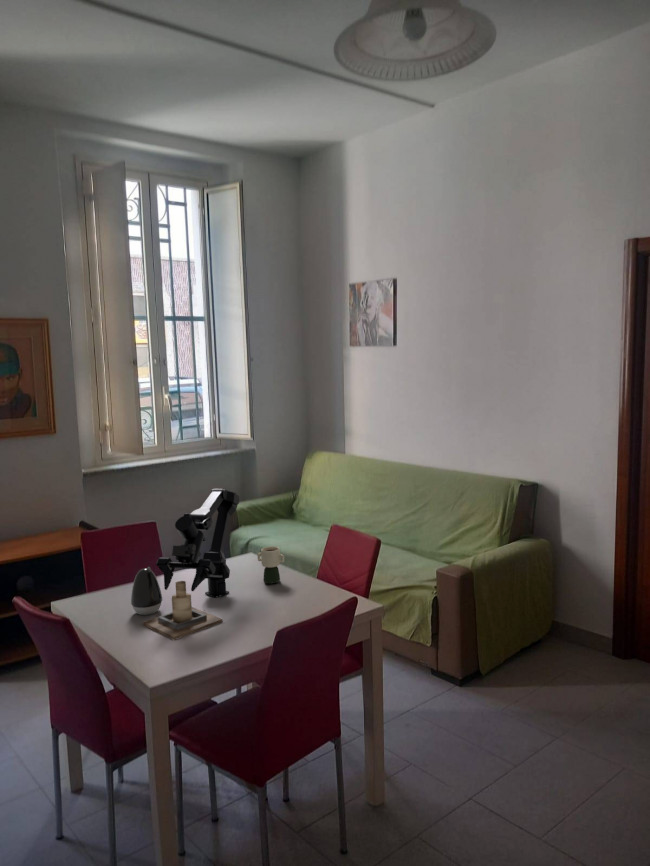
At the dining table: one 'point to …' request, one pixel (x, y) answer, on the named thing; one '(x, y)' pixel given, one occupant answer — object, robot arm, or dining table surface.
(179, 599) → the wooden peg
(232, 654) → the dining table surface
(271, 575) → the cream and green trophy
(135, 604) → the black egg-shaped body
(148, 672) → the dining table surface
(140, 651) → the dining table surface
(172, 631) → the board
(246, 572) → the dining table surface
